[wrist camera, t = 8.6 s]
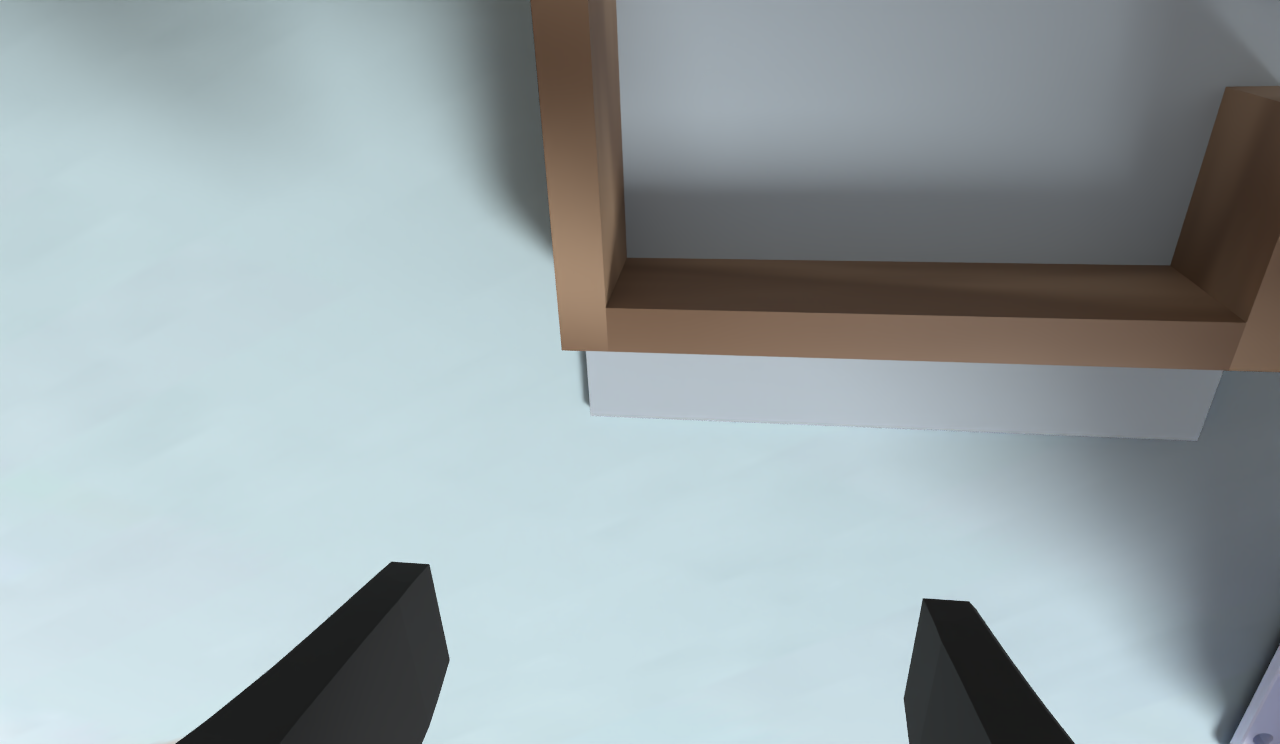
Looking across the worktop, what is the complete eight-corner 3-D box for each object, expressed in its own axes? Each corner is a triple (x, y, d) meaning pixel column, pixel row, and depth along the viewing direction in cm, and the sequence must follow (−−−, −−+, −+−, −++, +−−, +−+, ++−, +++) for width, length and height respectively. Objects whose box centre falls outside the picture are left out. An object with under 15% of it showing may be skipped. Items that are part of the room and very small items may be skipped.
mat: (1191, 434, 19) (1197, 441, 19) (592, 409, 21) (590, 415, 21) (1599, -684, 10) (1620, -701, 10) (524, -548, 12) (519, -559, 12)
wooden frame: (1205, 308, 17) (1286, 372, 15) (588, 295, 19) (561, 350, 16) (1429, -344, 12) (1618, -427, 9) (549, -275, 14) (501, -329, 11)
